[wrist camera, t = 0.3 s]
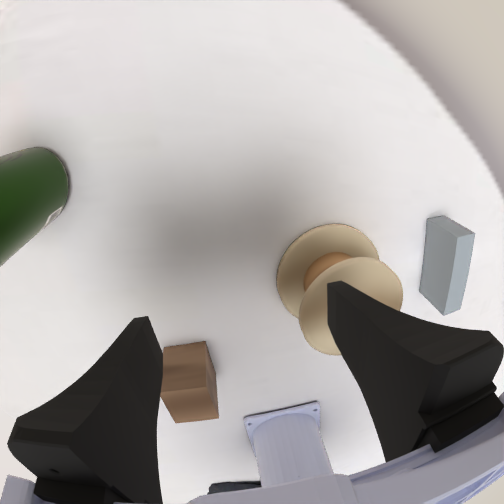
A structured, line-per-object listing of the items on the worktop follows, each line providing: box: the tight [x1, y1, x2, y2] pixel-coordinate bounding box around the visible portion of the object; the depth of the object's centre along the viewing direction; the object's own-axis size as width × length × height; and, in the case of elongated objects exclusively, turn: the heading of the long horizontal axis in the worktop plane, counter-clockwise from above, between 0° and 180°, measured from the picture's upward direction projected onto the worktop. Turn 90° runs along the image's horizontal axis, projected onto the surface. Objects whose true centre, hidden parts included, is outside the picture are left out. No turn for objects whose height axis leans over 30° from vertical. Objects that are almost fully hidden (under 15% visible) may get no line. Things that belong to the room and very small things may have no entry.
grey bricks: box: [419, 216, 475, 316], centre depth 25 cm, size 20×2×4 cm, turn 8°
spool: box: [277, 224, 403, 355], centre depth 21 cm, size 8×8×5 cm
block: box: [160, 341, 219, 423], centre depth 23 cm, size 4×4×5 cm
